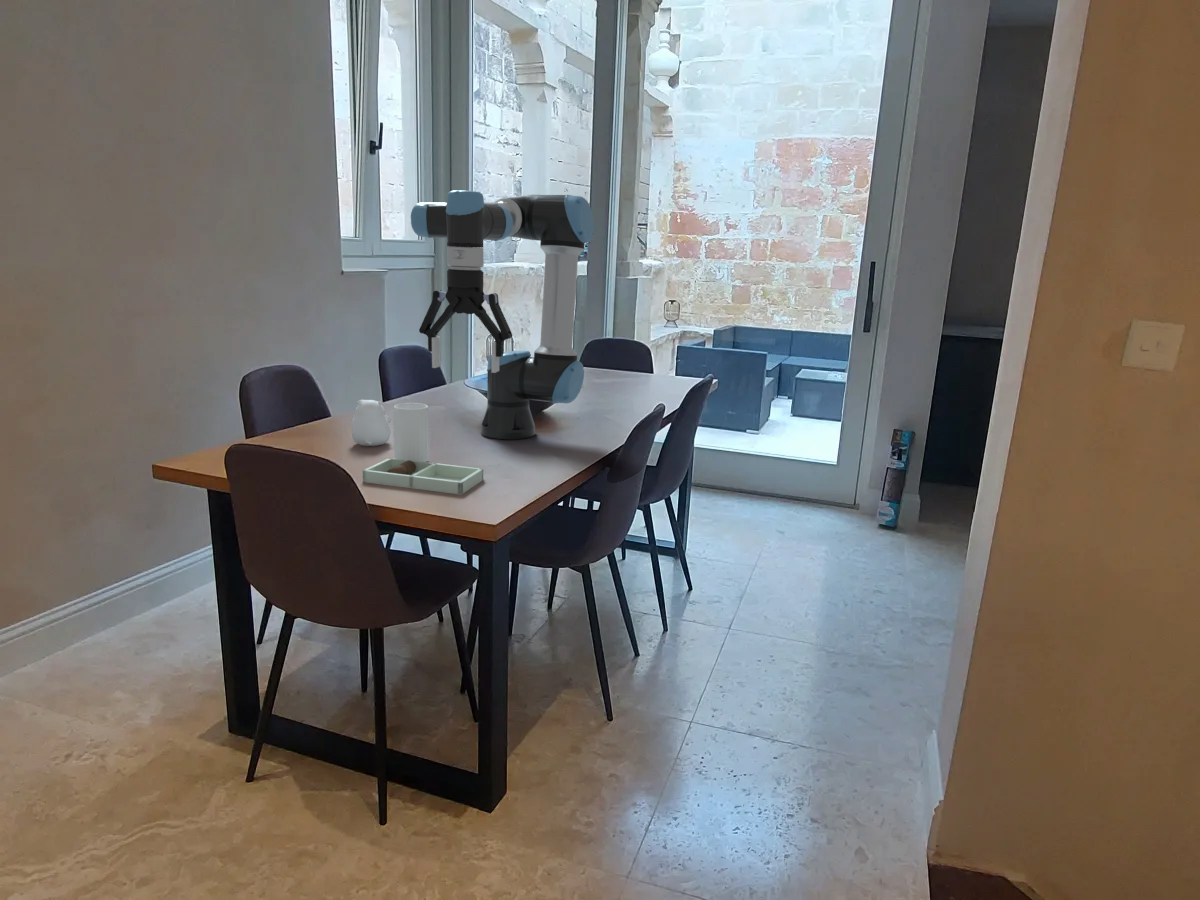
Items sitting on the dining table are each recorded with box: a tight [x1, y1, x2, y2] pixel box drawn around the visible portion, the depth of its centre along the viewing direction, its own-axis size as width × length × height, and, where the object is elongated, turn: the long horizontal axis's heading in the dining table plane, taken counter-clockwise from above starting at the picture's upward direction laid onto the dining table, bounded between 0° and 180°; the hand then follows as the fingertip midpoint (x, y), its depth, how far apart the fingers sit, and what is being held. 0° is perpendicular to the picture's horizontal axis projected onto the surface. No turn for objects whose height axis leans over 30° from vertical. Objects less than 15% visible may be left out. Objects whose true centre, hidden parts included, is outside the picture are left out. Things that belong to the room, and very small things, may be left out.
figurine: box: [351, 399, 392, 447], centre depth 201 cm, size 10×10×12 cm
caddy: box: [362, 457, 484, 495], centre depth 173 cm, size 12×23×3 cm, turn 75°
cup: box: [392, 402, 431, 462], centre depth 185 cm, size 8×8×14 cm
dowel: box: [387, 460, 416, 475], centre depth 174 cm, size 8×3×3 cm, turn 165°
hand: (465, 369), depth 170 cm, fingers open, 13 cm apart
